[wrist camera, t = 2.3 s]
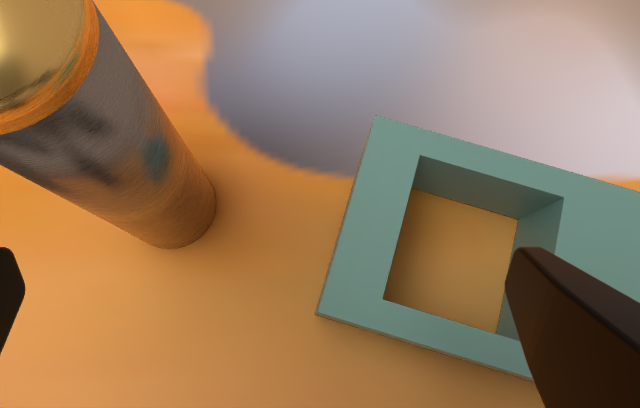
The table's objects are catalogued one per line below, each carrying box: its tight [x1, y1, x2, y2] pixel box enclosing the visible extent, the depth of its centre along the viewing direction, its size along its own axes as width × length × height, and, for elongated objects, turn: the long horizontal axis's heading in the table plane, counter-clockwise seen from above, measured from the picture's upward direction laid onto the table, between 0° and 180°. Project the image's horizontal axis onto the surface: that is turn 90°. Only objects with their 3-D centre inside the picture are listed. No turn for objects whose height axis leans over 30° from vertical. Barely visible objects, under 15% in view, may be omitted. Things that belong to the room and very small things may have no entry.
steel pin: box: [0, 0, 216, 249], centre depth 15 cm, size 4×4×14 cm
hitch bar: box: [315, 115, 640, 382], centre depth 19 cm, size 20×8×4 cm, turn 73°
